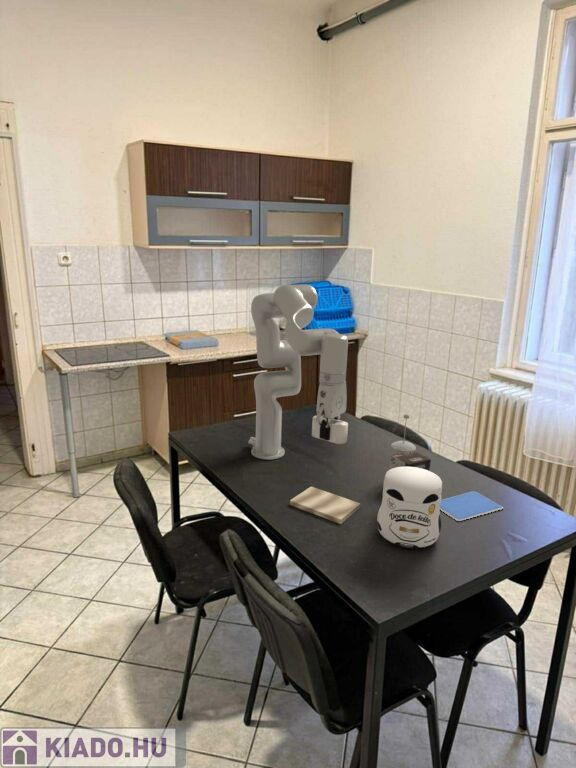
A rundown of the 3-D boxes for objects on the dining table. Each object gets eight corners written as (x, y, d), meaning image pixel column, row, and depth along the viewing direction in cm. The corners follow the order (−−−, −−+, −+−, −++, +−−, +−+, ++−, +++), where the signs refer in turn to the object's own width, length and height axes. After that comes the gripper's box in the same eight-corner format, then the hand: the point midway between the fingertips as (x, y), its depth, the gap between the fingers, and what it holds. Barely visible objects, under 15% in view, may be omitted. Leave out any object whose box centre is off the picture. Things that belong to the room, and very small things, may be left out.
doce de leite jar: (399, 560, 140) (405, 498, 135) (364, 526, 155) (369, 469, 150) (452, 546, 146) (460, 487, 141) (413, 516, 162) (420, 461, 157)
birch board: (289, 504, 166) (290, 500, 165) (310, 490, 175) (311, 486, 175) (340, 524, 156) (340, 519, 155) (360, 507, 165) (360, 503, 165)
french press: (379, 483, 182) (385, 413, 175) (397, 473, 190) (404, 406, 183) (404, 493, 175) (412, 421, 168) (422, 482, 183) (430, 413, 176)
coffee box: (402, 513, 163) (408, 464, 159) (389, 503, 169) (394, 456, 164) (426, 507, 167) (431, 459, 163) (412, 497, 173) (417, 451, 168)
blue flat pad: (458, 524, 159) (458, 520, 158) (429, 505, 170) (429, 501, 169) (504, 511, 168) (505, 507, 167) (473, 493, 178) (474, 489, 178)
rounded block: (308, 435, 160) (309, 418, 159) (316, 431, 164) (317, 414, 162) (342, 445, 154) (343, 427, 153) (349, 440, 158) (350, 423, 156)
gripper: (328, 386, 145) (324, 448, 150) (358, 373, 158) (353, 431, 164) (305, 380, 149) (302, 441, 154) (336, 369, 163) (332, 425, 168)
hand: (329, 435), depth 159 cm, fingers closed on rounded block, 4 cm apart
